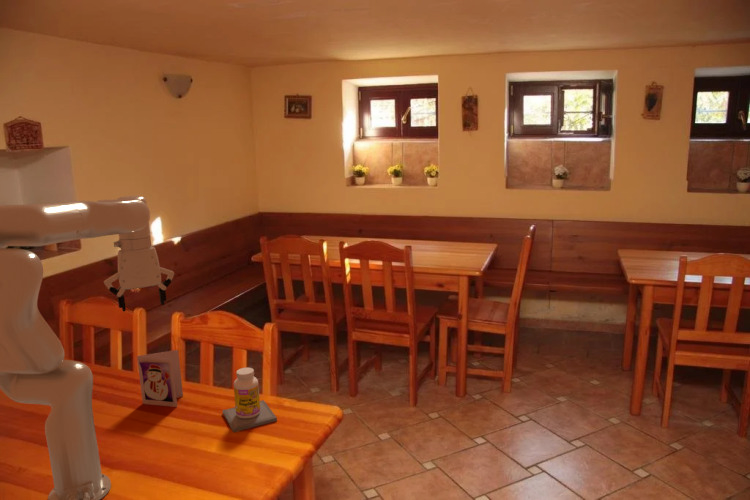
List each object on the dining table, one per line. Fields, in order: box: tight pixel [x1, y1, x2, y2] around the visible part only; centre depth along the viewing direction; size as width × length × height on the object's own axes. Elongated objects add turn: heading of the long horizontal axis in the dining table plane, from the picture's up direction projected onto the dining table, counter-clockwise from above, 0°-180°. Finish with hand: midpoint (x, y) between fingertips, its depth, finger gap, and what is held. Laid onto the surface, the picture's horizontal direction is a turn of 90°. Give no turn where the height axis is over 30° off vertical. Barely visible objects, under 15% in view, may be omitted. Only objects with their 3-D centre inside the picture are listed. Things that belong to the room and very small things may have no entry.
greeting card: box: [136, 349, 184, 408], centre depth 176 cm, size 11×7×15 cm, turn 76°
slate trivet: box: [222, 399, 278, 433], centre depth 166 cm, size 12×12×1 cm
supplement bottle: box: [233, 367, 261, 419], centre depth 164 cm, size 7×7×13 cm
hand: (143, 306), depth 158 cm, fingers open, 9 cm apart
